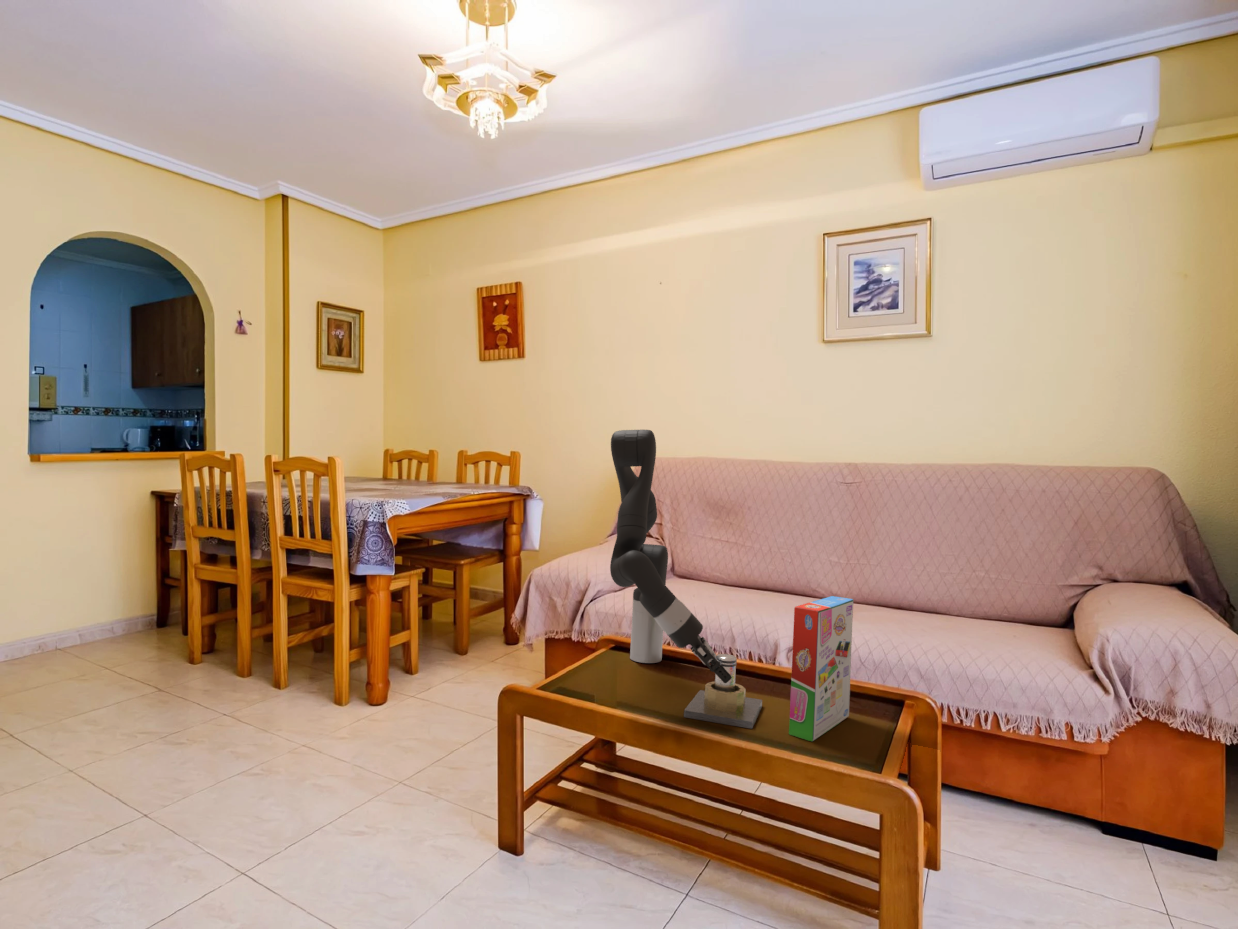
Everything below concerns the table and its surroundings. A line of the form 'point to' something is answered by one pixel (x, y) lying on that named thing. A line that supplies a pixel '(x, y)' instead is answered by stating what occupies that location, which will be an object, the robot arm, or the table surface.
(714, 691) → the tan pot on tray
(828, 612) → the game box
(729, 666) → the piston
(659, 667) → the table surface
